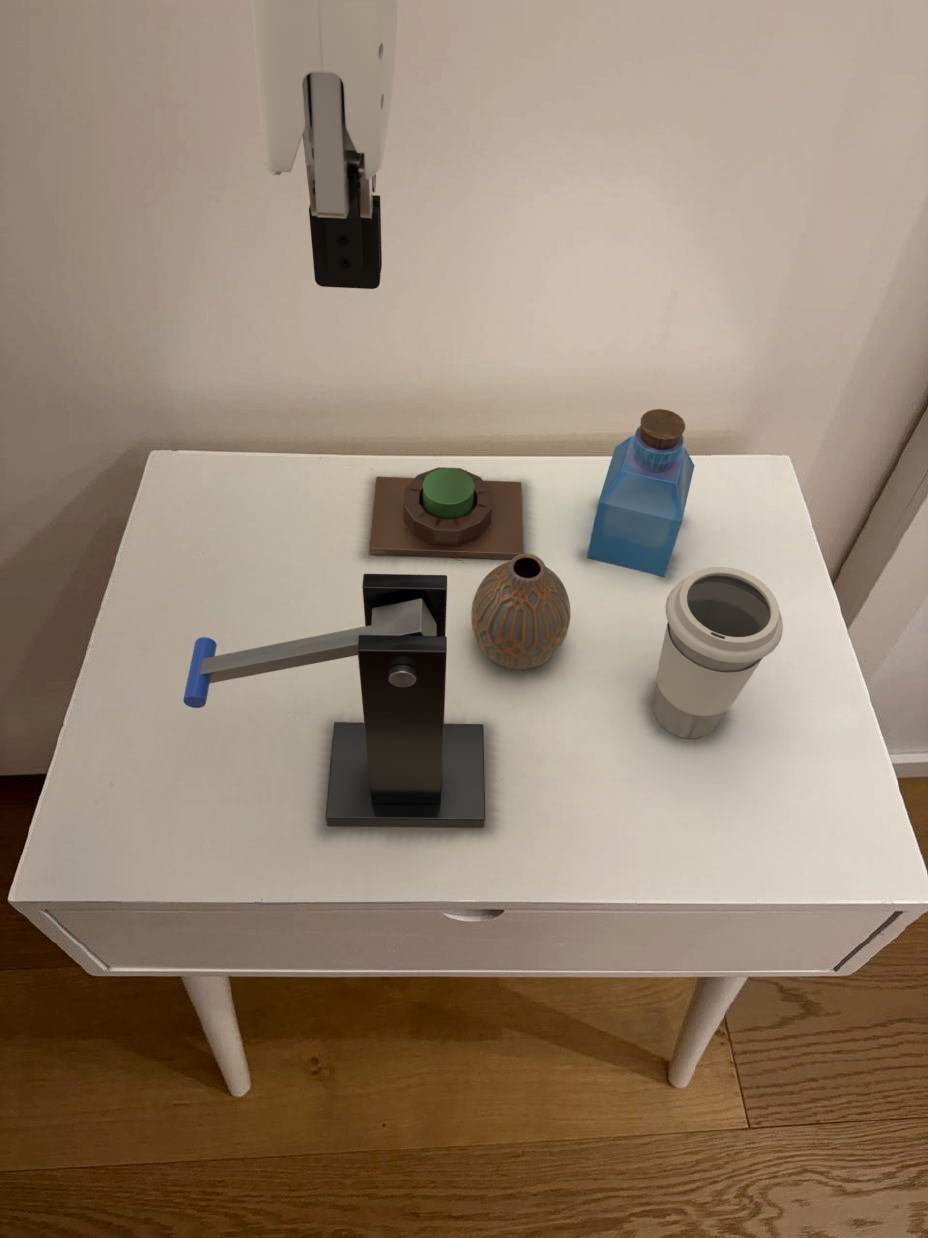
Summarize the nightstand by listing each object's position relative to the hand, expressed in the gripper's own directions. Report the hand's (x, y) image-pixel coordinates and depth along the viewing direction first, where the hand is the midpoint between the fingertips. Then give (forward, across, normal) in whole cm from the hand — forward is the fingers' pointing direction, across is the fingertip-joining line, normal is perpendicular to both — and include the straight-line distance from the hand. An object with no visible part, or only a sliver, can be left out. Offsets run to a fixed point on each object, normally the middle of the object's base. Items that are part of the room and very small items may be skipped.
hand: (349, 277), depth 48 cm
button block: (+28, -11, +6) cm, 31 cm away
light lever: (+16, +13, -2) cm, 20 cm away
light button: (+26, -11, +6) cm, 29 cm away
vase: (+28, +2, +11) cm, 31 cm away
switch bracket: (+28, +13, +4) cm, 31 cm away
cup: (+28, +7, +23) cm, 37 cm away
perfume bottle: (+28, -9, +20) cm, 36 cm away
